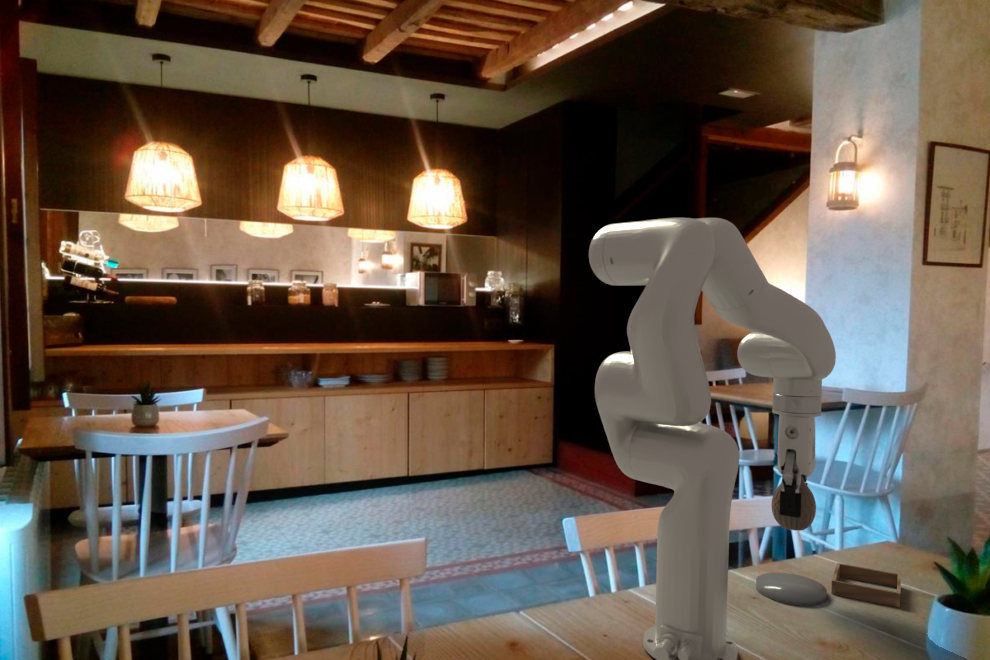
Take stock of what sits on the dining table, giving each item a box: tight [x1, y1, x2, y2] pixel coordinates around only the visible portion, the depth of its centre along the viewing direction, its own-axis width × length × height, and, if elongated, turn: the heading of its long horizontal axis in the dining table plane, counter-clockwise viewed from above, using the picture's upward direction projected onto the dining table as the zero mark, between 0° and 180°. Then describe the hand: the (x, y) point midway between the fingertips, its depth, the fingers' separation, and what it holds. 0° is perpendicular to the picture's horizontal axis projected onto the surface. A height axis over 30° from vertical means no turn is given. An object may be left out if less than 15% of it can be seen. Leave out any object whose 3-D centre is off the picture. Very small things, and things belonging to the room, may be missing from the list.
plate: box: [755, 572, 828, 607], centre depth 119 cm, size 11×11×1 cm
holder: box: [830, 562, 902, 608], centre depth 120 cm, size 10×10×2 cm
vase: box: [771, 476, 817, 531], centre depth 118 cm, size 7×7×9 cm
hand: (793, 509), depth 118 cm, fingers closed on vase, 6 cm apart
